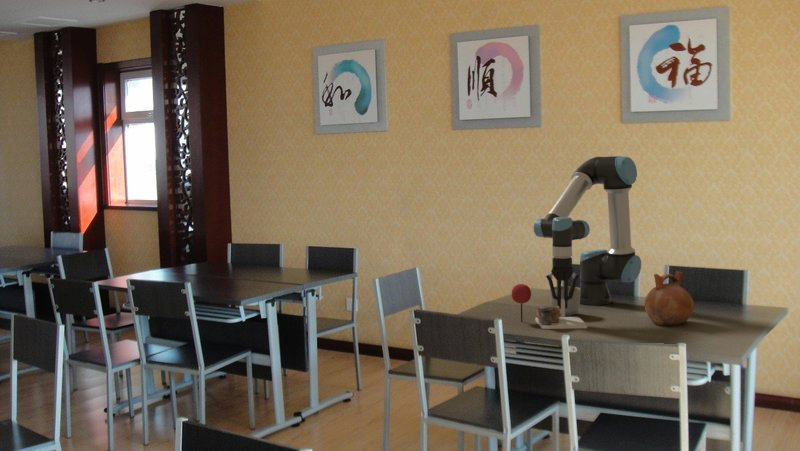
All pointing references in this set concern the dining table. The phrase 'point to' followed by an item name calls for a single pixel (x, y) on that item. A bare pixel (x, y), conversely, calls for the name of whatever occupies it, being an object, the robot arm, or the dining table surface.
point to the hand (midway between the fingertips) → (562, 316)
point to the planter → (572, 303)
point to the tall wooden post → (544, 316)
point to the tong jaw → (552, 312)
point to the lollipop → (521, 294)
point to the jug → (669, 301)
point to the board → (564, 323)
